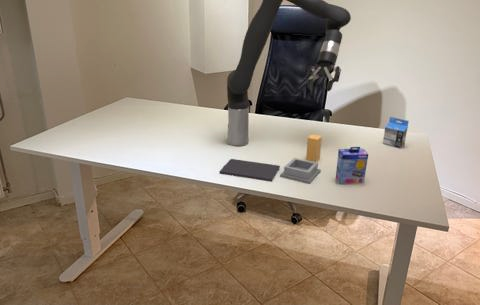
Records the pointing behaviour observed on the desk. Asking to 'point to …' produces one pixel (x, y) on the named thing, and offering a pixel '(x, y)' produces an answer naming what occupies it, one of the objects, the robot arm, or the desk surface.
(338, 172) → the ink cartridge box
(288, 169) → the square socket
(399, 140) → the blue grey product box
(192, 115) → the desk surface
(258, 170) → the notebook
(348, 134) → the desk surface
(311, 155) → the orange cap block
